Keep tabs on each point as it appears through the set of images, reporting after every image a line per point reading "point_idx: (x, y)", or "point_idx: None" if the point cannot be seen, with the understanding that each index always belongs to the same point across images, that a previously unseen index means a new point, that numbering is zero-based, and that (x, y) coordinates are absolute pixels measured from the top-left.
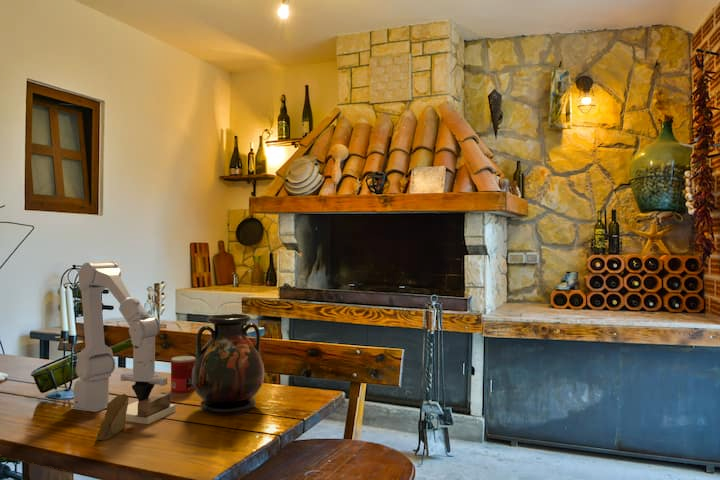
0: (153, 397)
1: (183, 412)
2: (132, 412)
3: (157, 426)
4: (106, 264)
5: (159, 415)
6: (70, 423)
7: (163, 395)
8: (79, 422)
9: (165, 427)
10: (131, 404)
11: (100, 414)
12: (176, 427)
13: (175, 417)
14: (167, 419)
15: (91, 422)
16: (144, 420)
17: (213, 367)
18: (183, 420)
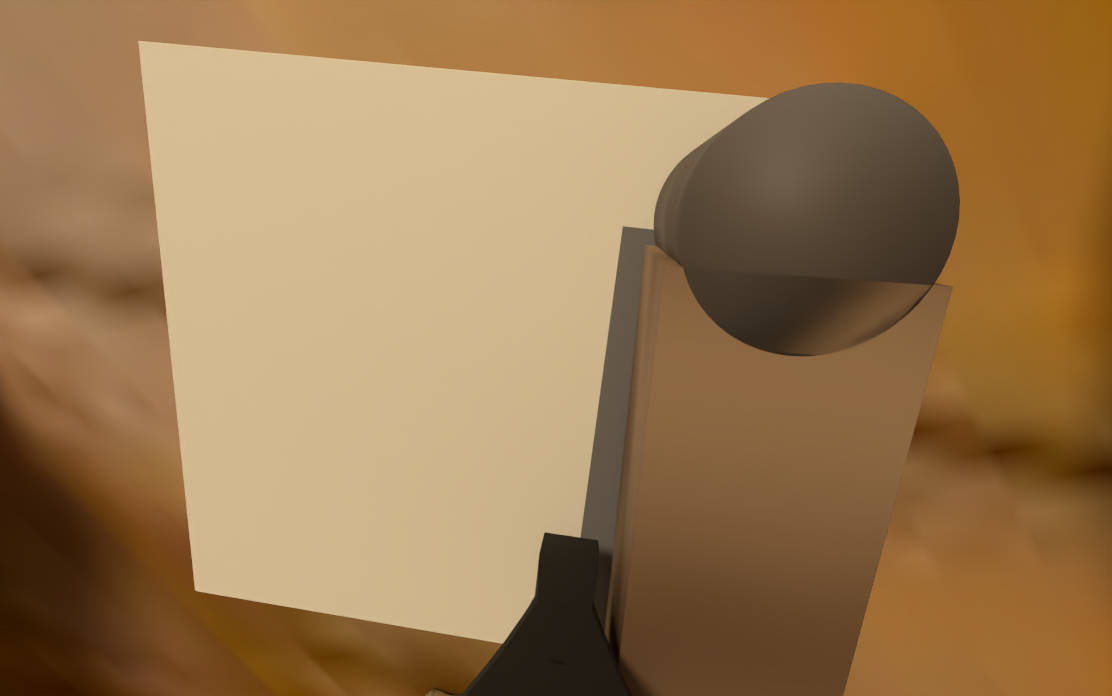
0: (705, 618)
1: (975, 139)
2: (449, 573)
3: (854, 657)
4: None
5: None
6: (47, 677)
7: (864, 451)
8: (88, 649)
9: (957, 672)
10: (194, 279)
11: (53, 434)
12: (1087, 660)
13: (939, 366)
14: None
15: (176, 638)
16: None
17: None
18: (1096, 449)
